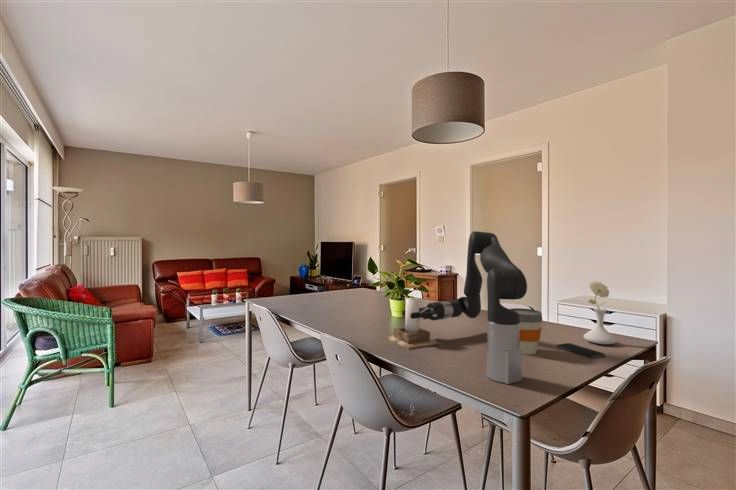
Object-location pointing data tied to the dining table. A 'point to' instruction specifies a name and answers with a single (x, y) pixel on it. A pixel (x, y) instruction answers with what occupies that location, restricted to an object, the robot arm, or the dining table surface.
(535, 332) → the reusable coffee cup
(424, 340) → the open wooden box
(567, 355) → the dining table surface
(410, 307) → the paper towel roll
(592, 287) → the flower in vase
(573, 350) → the phone
